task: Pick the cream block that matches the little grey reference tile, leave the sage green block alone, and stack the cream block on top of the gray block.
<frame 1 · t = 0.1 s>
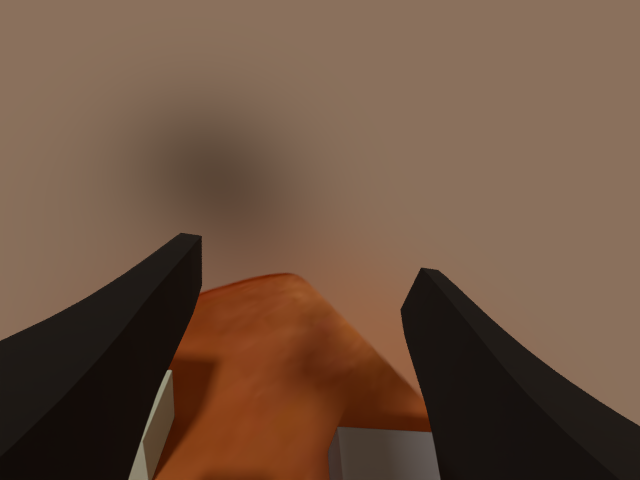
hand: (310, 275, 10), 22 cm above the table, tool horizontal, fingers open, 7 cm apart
sage block: (128, 447, 24), on the table
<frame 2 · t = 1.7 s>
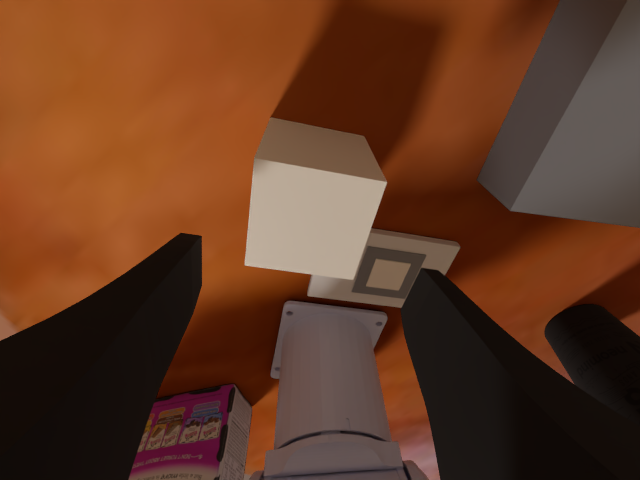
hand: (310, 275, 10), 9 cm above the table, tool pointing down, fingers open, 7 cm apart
reference tile: (378, 267, 22), on the table
candy bar box: (195, 403, 32), on the table
gray block: (588, 110, 17), on the table
drinking cup: (573, 322, 26), on the table
cream block: (309, 170, 18), on the table
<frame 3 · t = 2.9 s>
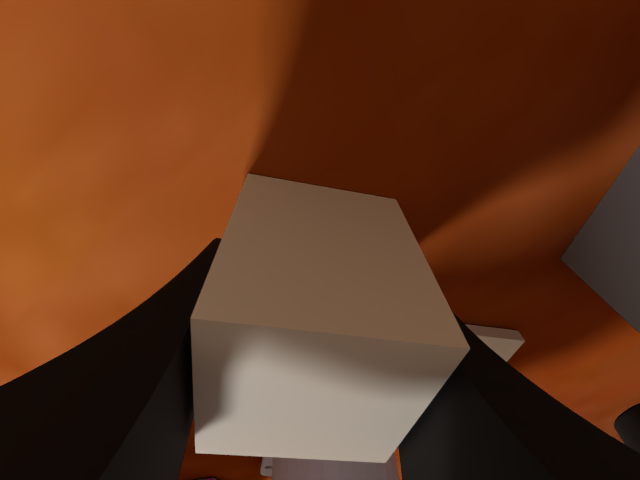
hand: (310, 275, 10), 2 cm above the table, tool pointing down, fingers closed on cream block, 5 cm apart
reference tile: (405, 359, 16), on the table
cream block: (310, 247, 12), on the table, touching gripper
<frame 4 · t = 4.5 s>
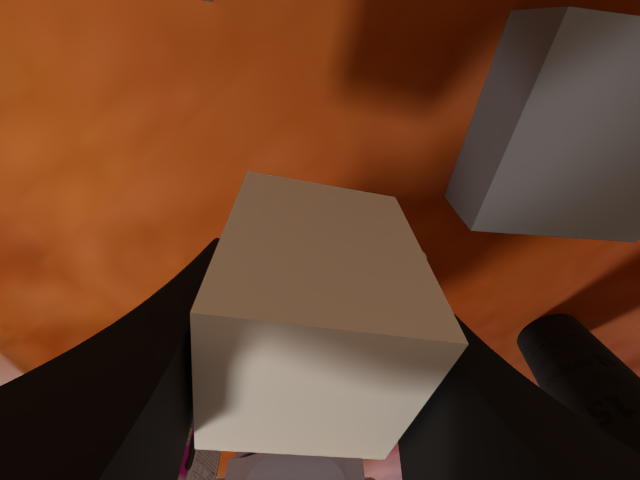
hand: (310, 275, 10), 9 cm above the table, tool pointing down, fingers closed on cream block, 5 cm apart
candy bar box: (169, 409, 31), on the table
gray block: (550, 124, 17), on the table
drinking cup: (545, 332, 26), on the table
cream block: (309, 245, 12), point 7 cm above the table, touching gripper
when the fingers open (7 cm above the table, at t = 6.1 s): cream block drops 1 cm, resting on gray block.
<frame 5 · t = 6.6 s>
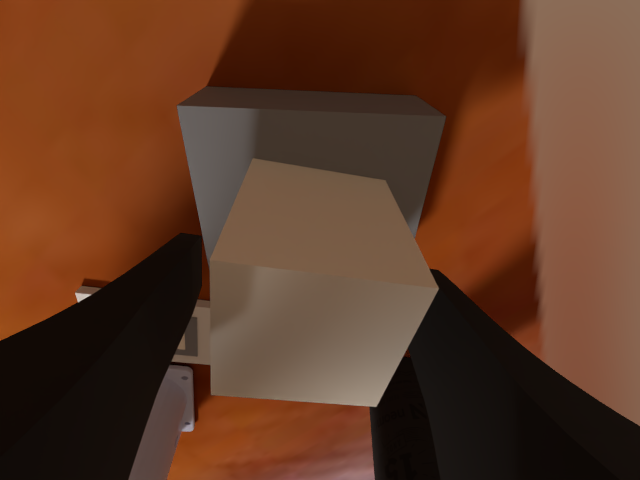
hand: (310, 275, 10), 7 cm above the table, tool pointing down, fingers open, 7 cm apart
reference tile: (162, 326, 22), on the table
gray block: (310, 184, 16), on the table, touching cream block
drinking cup: (396, 372, 26), on the table
cream block: (309, 226, 13), point 4 cm above the table, touching gray block
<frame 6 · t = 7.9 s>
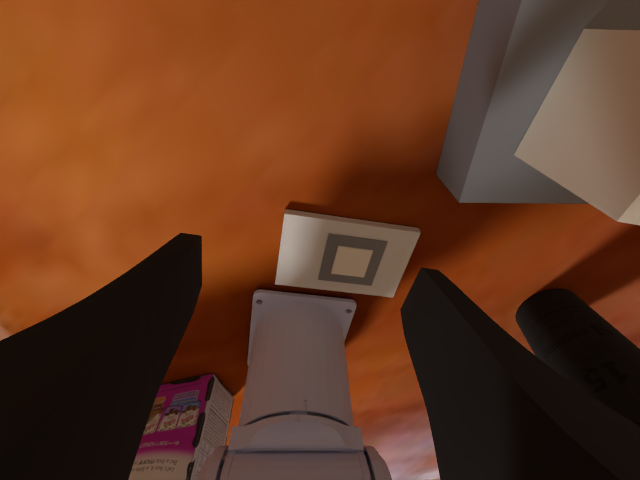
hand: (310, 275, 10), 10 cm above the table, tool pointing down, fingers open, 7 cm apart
reference tile: (343, 254, 22), on the table
candy bar box: (177, 393, 32), on the table
gray block: (534, 94, 17), on the table
drinking cup: (544, 307, 27), on the table
cream block: (595, 110, 14), point 4 cm above the table
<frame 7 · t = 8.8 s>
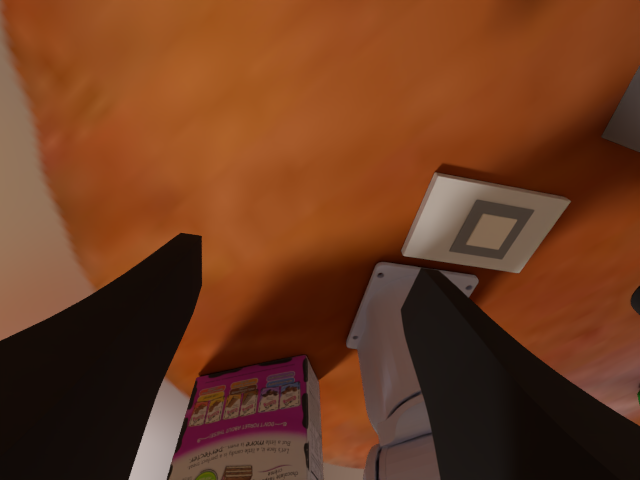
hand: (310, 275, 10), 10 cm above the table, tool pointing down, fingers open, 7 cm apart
reference tile: (478, 225, 21), on the table
candy bar box: (260, 376, 31), on the table
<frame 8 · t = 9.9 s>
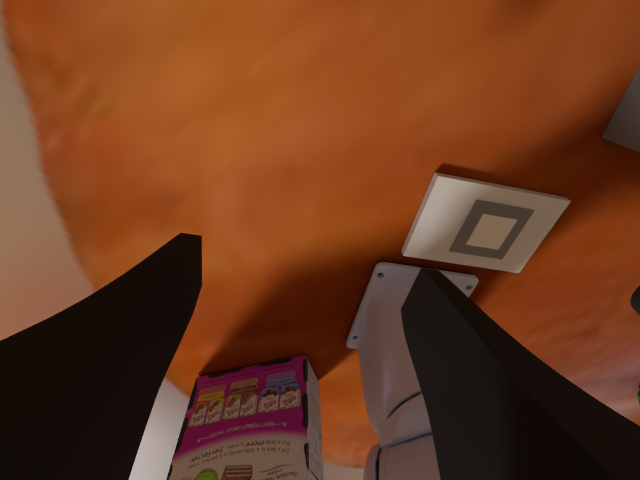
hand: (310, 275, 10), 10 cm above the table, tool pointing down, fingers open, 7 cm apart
reference tile: (478, 225, 21), on the table
candy bar box: (260, 376, 31), on the table
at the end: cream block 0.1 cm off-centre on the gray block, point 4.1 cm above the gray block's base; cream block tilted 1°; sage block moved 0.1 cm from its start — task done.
